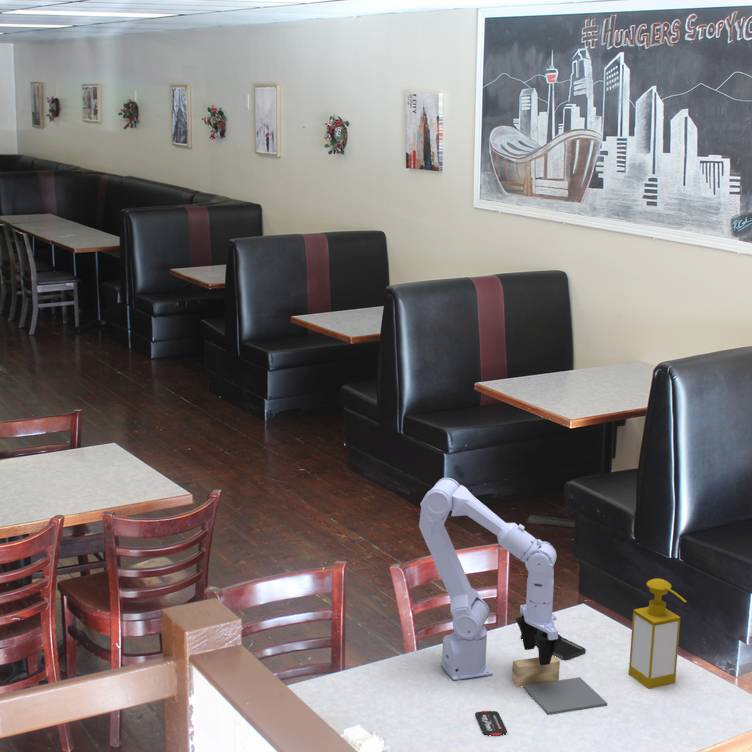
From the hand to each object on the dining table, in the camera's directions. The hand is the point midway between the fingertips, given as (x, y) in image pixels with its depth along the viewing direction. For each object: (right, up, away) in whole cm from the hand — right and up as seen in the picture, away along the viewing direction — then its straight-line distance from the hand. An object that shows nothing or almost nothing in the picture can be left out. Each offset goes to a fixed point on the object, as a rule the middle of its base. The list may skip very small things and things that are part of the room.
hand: (536, 656), depth 241 cm
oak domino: (0, -6, +1) cm, 6 cm away
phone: (+7, -3, +19) cm, 20 cm away
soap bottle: (+27, -7, +1) cm, 28 cm away
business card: (-12, -10, -17) cm, 23 cm away
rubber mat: (+5, -7, -5) cm, 10 cm away
